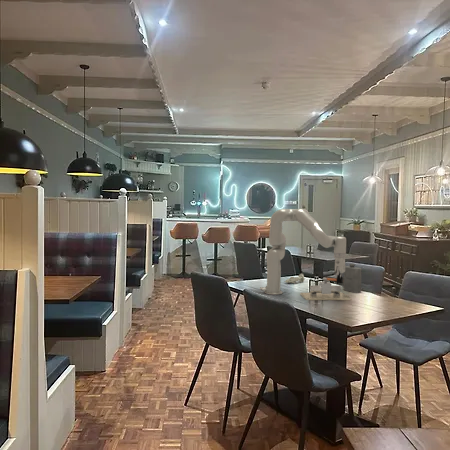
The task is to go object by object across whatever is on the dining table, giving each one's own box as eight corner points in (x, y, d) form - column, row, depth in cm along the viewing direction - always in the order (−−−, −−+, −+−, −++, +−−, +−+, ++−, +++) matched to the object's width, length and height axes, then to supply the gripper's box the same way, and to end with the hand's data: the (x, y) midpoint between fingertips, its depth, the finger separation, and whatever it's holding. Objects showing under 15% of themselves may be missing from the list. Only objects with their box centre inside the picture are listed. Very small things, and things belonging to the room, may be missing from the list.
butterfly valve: (290, 284, 332) (307, 280, 341) (284, 259, 336) (301, 256, 344) (284, 286, 340) (301, 282, 348) (278, 261, 343) (295, 258, 352)
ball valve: (305, 299, 281) (306, 282, 280) (300, 294, 297) (300, 278, 296) (350, 300, 282) (351, 282, 282) (342, 294, 298) (343, 278, 298)
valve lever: (322, 281, 288) (322, 276, 288) (323, 281, 291) (323, 275, 291) (343, 283, 283) (343, 277, 282) (343, 283, 285) (344, 277, 285)
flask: (340, 289, 317) (341, 262, 316) (346, 288, 320) (347, 262, 319) (356, 293, 304) (357, 265, 303) (362, 292, 307) (363, 264, 306)
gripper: (343, 257, 272) (342, 285, 273) (348, 254, 285) (347, 282, 286) (331, 256, 276) (330, 284, 277) (337, 253, 289) (336, 280, 290)
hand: (339, 283), depth 281 cm, fingers closed
